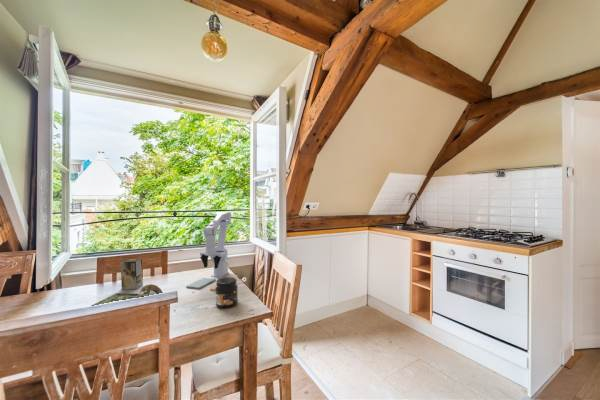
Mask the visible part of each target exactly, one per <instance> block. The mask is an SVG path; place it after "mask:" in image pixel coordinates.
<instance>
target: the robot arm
mask: <svg viewBox="0 0 600 400" xmlns="http://www.w3.org/2000/svg"><path fill="white" fill-rule="evenodd" d="M214 214H215V215H214V219H212V220H211V222H210V223H209V224H208V225H207V226H205V227H204V229H203V235H204V239H205V251H200V252H199V256H200V257H199V258H200V260H201V261H202V262H201V263H202V264H203V267H204V268H207V267H208V266H209V265H208V264H209V262H208V261H209V257H210V261H211V262H212V263H213V274H211V275H210V276H211V277H215V278H221V277H225V276H226V275H229V273H230V272H229V267H228V266H229V265H228V262H227V261H228V250H227V249H226V248H225V245H226V237H227V231H228V230H227V229H228V226H229V225H230V224H231V221H232V220H231V219H232V213H231V211H216V212H215V213H214ZM218 229H219V231H218ZM217 233H218V237H217V242H216V236H217Z"/></svg>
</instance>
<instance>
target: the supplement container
mask: <svg viewBox="0 0 600 400" xmlns="http://www.w3.org/2000/svg"><path fill="white" fill-rule="evenodd" d="M225 277H226V276H225ZM220 278H221V277H220ZM218 279H219V278H218ZM218 279H217V281H215V283H216V285H215V286H217V287H216V288H215V290H216V291H215V306H216V307H217V308H219V309H229V308H233V307H234V306H236V305H237V304H238V302H239V299H238V296H239V295H238V287H239V286H238V284H237V278H235V277H231V276H230V277H229V276H227V277H226V278H221V279H219V280H218Z"/></svg>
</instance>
